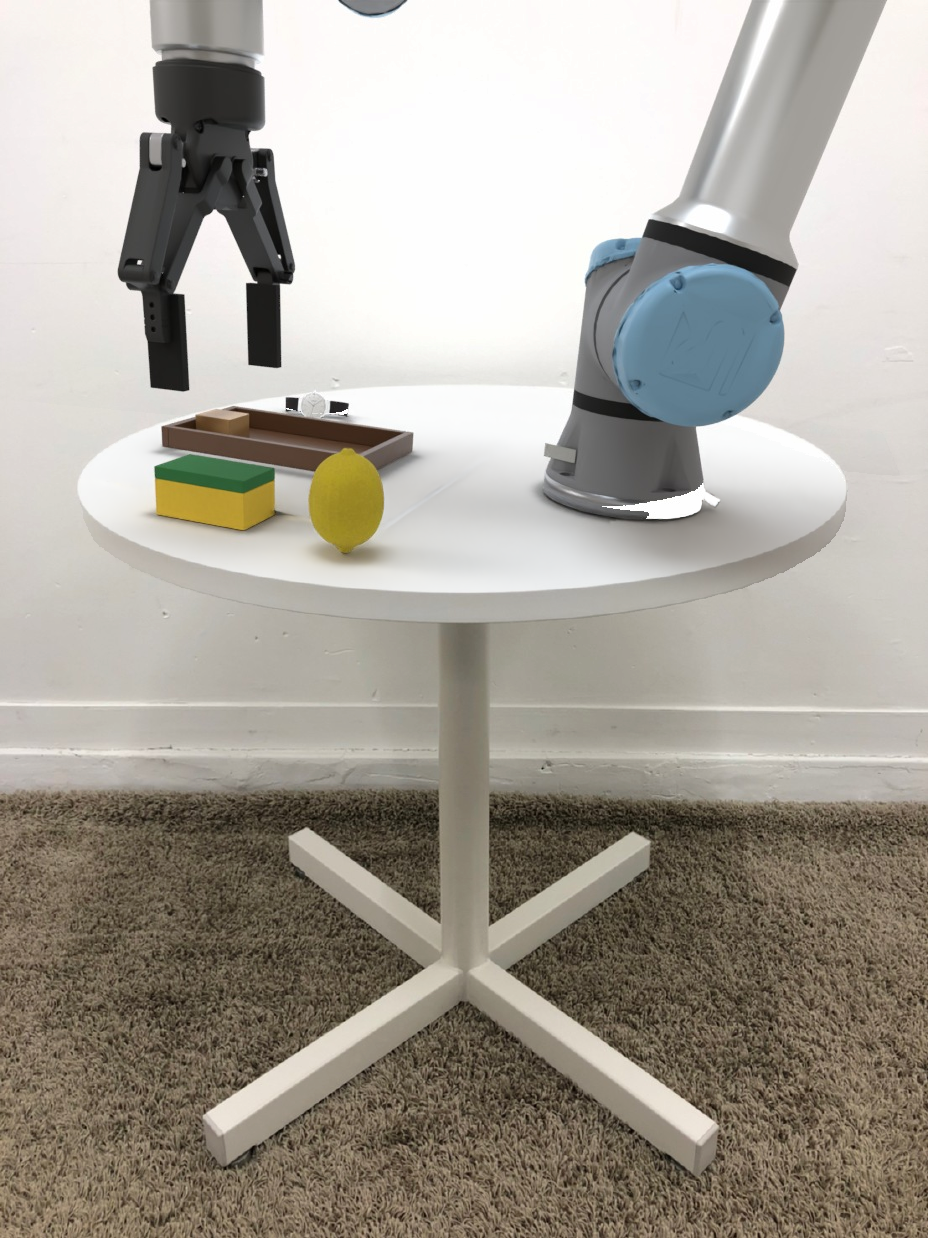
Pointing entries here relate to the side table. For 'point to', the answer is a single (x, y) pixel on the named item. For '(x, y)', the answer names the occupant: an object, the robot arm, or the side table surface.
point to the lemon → (346, 500)
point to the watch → (315, 405)
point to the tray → (291, 440)
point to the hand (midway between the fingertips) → (221, 377)
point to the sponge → (215, 491)
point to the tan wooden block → (223, 422)
